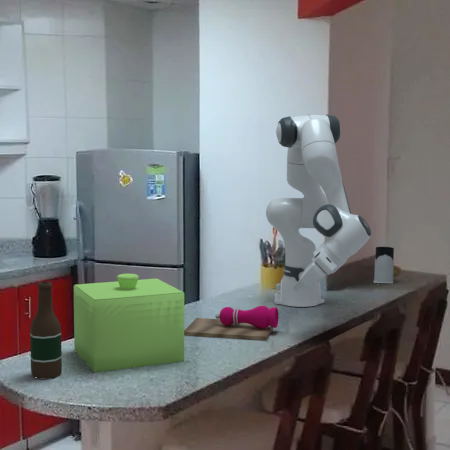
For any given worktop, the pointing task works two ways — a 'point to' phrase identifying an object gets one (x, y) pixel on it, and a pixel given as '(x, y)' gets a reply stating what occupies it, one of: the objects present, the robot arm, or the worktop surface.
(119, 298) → the canister
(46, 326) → the beer bottle
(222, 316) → the pepper mill
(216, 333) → the walnut board
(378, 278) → the glass holder
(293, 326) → the worktop surface
